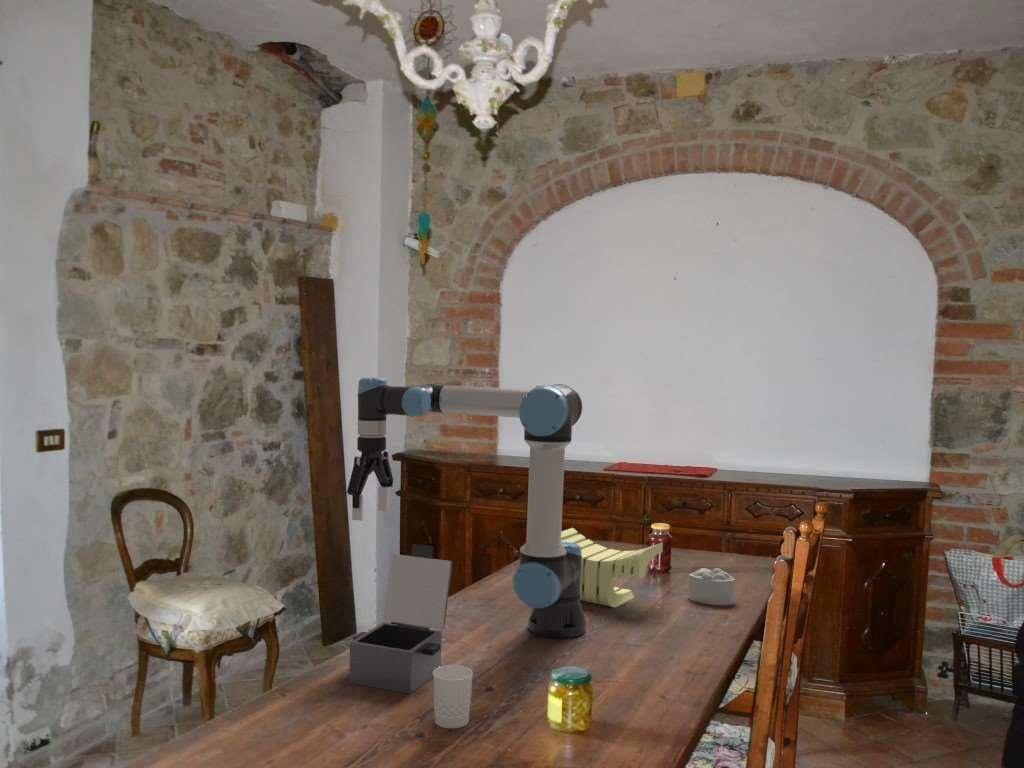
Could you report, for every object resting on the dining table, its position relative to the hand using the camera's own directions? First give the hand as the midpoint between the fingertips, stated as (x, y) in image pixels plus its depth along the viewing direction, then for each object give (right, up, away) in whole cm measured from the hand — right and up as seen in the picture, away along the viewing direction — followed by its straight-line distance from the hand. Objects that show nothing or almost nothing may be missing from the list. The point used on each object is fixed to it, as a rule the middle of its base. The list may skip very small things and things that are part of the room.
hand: (370, 515), depth 237 cm
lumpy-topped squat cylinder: (+97, -29, +27) cm, 105 cm away
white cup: (+26, -32, -60) cm, 73 cm away
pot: (+12, -30, -38) cm, 50 cm away
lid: (+16, -12, -30) cm, 36 cm away
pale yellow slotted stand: (+64, -29, +25) cm, 74 cm away
